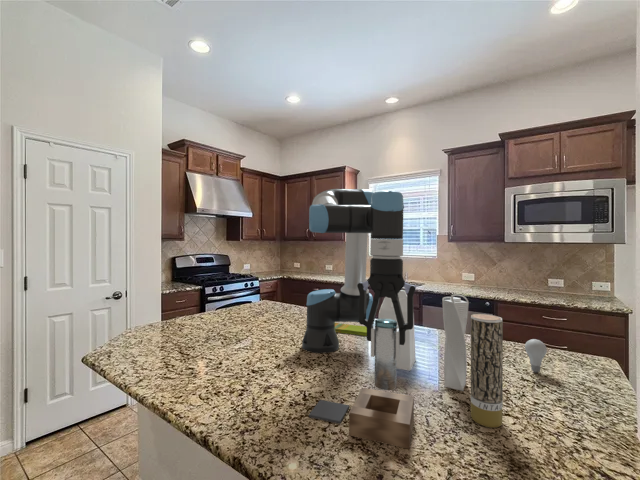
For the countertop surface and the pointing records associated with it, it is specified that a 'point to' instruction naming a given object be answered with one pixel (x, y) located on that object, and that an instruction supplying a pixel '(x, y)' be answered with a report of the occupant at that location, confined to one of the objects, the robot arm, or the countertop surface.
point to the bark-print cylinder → (487, 369)
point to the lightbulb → (535, 353)
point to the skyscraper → (455, 341)
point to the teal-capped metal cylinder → (385, 354)
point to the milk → (388, 313)
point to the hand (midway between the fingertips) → (385, 356)
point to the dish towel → (351, 329)
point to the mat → (329, 411)
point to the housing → (382, 417)
